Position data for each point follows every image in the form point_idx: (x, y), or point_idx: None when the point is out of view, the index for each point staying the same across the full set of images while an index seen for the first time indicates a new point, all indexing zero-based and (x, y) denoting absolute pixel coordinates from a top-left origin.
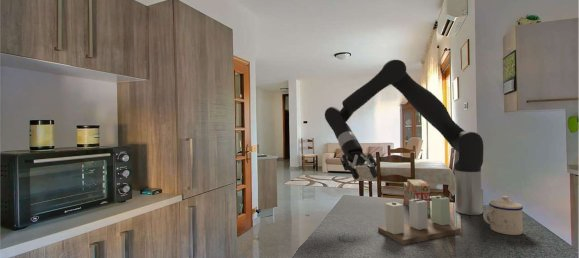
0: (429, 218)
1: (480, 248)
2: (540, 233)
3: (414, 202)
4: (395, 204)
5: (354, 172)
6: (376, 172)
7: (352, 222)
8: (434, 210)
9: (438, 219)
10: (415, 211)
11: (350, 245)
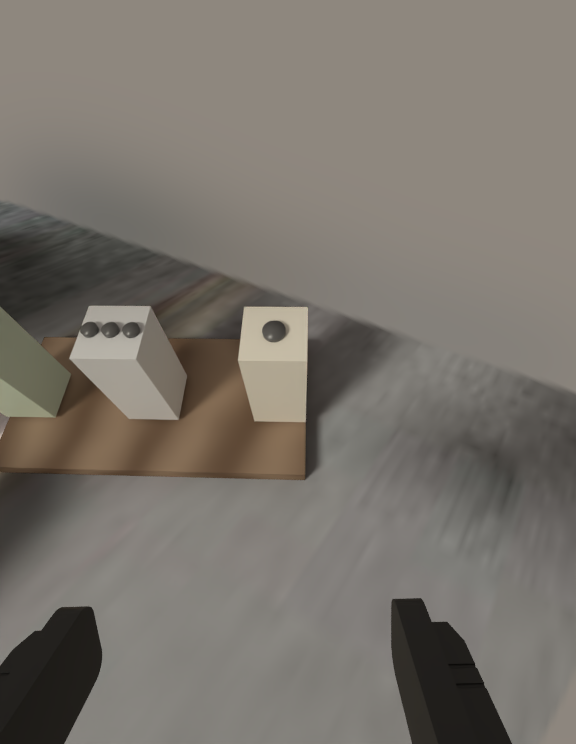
0: (3, 465)
1: (135, 265)
2: None
3: (146, 328)
4: (274, 323)
5: (466, 690)
6: (36, 640)
7: (351, 673)
8: (27, 376)
9: (55, 375)
10: (162, 349)
11: (485, 412)
